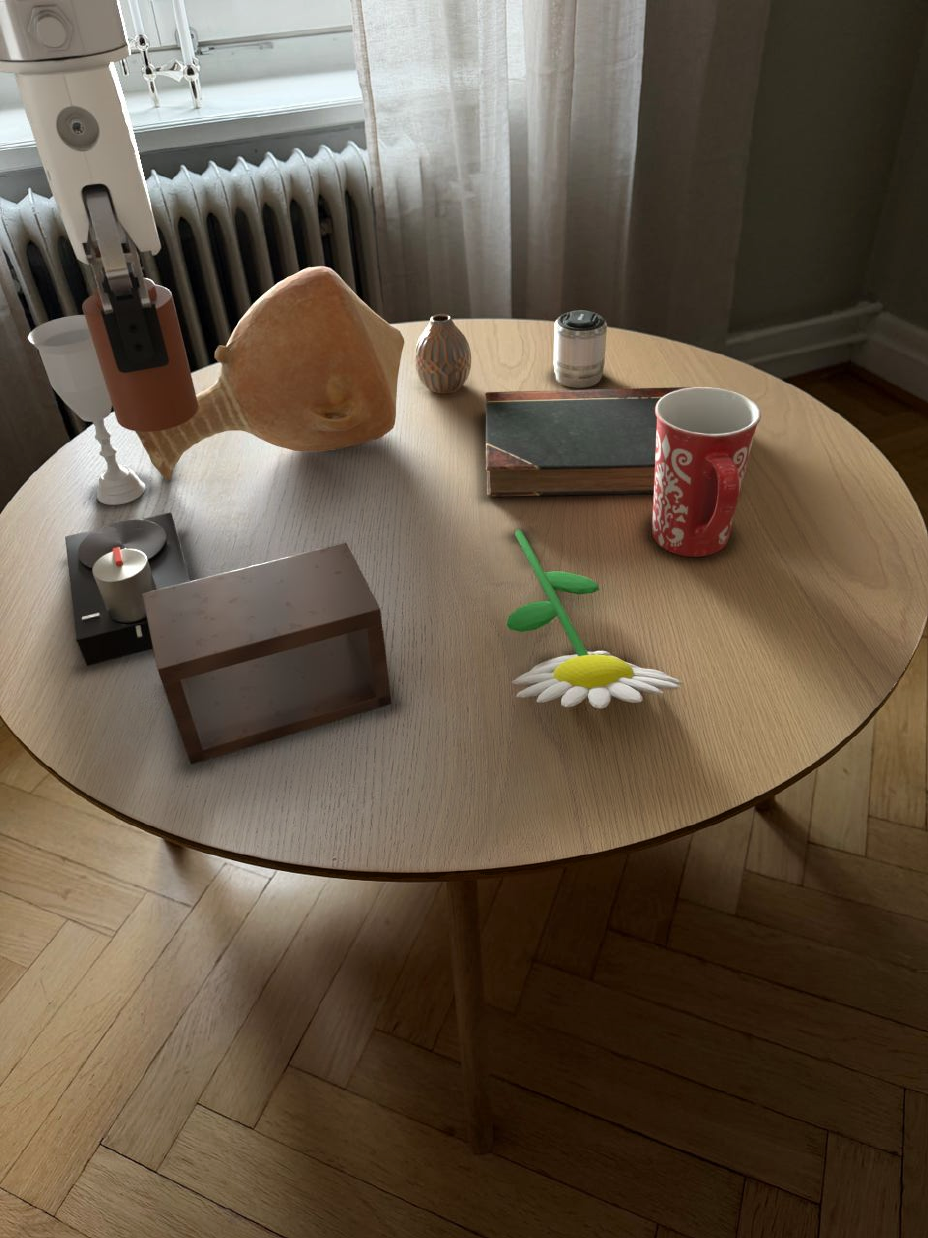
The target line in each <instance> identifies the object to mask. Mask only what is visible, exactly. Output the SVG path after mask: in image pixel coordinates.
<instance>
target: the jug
mask: <svg viewBox="0 0 928 1238" xmlns="http://www.w3.org/2000/svg"><path fill="white" fill-rule="evenodd" d="M405 343H406V342H405V338H404V336H403V334H402V332H401V330H399V329H398V328H396V326H395V327H394V325H391V324H390V323H389V322H388V321H386V320H385V319H384V318H383V317H381V316H380V315H379V314H377V313H376V312H375V311H374V310H373V309H372V308H371V307H370V306H369V305H368V304H367V303H365V301H363V300H362V299H361V298H360V297H359V296H358V295H357V294H356V292H355V291H353V289H352V288H351V287H350V286H349V285H348V284H347V283H346V282H345V281H344V280H343V279H342V277H341V276H340V275H339V274H338V273H337V272H336V271H335V270H333V268H331V267H328V266H324V265H319V266H312V267H311V266H308V267H306V268H304V269H302V270H300V271H298V272H296V273H294V274H292V275H290V276H287V277H286V278H284V279H282V280H280V281H279V282H277V283H276V284H274V286H272V287H271V288H270V289H268V290H267V291H266V292H264V293H263V294H262V295H261V296H260V297H259V298H258V299H257V300H255V302H253V304H252V305H251V306H250V307H249V308H248V310H247V311H246V312H245V313H244V315H243V316H242V317H241V318H240V319H239V321H238V323H237V325H236V326H235V327H234V329H233V331H232V333H231V334H230V337H229V339H228V342H227V343H226V345H218V346H217V348H216V350H215V351H214V359H215V360H216V361H217V362H218V363H220V364H221V365H220V370H219V371H220V373H219V375H218V377H217V380H216V381H215V382H214V383H213V384H212V385H211V386H210V387H208V388H207V389H205V390H203V391H201V392H200V393H198V394H196V397H197V401H198V406H199V407H198V411H197V413H196V414H195V415H194V416H193V417H192V418H191V419H190V420H188V421H187V422H185V423H183V424H181V425H178V426H176V427H173V428H170V429H166V430H161V431H153V432H138V431H134V432H135V433H136V435H137V436H138V438H139V440H140V442H141V444H142V446H143V448H144V450H145V452H146V453H147V455H148V457H149V460H150V463H151V464H152V465H153V467H155V469H156V470H157V471H158V472H159V473H160V475H161V476H162V477H163V479H164V480H165V481H171V479H172V478H173V473H174V470H175V469H176V465H177V463H178V462H179V460H180V459H181V457H182V456H183V454H184V453H185V452H187V451H188V450H190V449H191V448H192V447H193V446H194V445H196V444H199V443H200V442H202V441H203V440H205V439H207V438H208V439H209V438H211V437H213V436H214V435H218V434H221V433H225V432H233V431H237V432H238V431H240V432H241V431H242V432H244V433H245V432H246V433H248V434H251V435H253V436H255V437H256V438H258V439H260V440H262V441H264V442H266V443H268V444H270V445H273V446H276V447H279V448H283V449H287V450H290V451H294V452H309V453H321V452H329V451H335V450H342V449H346V448H349V447H355V446H359V445H361V444H365V443H368V442H372V441H375V440H377V439H380V438H382V437H383V436H385V435H387V434H389V432H391V431H392V430H393V429H394V428H395V425H396V418H397V397H398V380H399V372H400V366H401V360H402V356H403V355H402V354H403V351H404V346H405Z"/></svg>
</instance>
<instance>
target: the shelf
mask: <svg viewBox="0 0 928 1238" xmlns="http://www.w3.org/2000/svg"><path fill="white" fill-rule="evenodd" d="M142 596H143V601H144V606H145V611H146V616H147V621H148V626H149V631H150V636H151V641H152V646H153V648H152V650H153V655H154V660H155V665H156V671H157V673H158V676H159V679H160V681H161V684H162V687H163V691H164V693H165V695H166V699H167V701H168V703H169V704H168V706H169V708H170V710H171V713H172V716H173V719H174V723H175V725H176V728H177V730H178V733H179V736H180V739H181V742H182V745H183V747H184V751H185V753H186V756H187V759H188V761H189V764H190V765H194V764H197V763H201V762H204V761H208V760H210V759H214V758H217V757H221V756H224V755H228V754H230V753H234V752H237V751H241V750H243V749H247V748H251V747H254V746H257V745H260V744H264V743H268V742H271V741H273V740H277V739H280V738H284V737H287V736H290V735H293V734H297V733H300V732H304V731H307V730H310V729H314V728H317V727H320V726H323V725H327V724H331V723H333V722H336V721H340V720H343V719H347V718H350V717H353V716H357V715H361V714H364V713H367V712H370V711H373V710H377V709H380V708H384V707H388V706H390V705H392V704H393V700H392V691H391V682H390V676H389V667H388V659H387V651H386V642H385V634H384V625H383V618H382V617H383V616H382V611H381V607H380V605H379V603H378V601H377V599H376V597H375V595H374V593H373V591H372V589H371V587H370V586H369V584H368V582H367V579H366V578H365V575H364V574H363V572H362V570H361V567H360V566H359V564H358V562H357V560H356V558H355V556H354V554H353V552H352V550H351V547H350V546H349V544H348V542H343V543H338V544H334V545H331V546H326V547H322V548H319V549H314V550H310V551H305V552H302V553H299V554H298V553H297V554H294V555H291V556H287V557H283V558H278V559H274V560H270V561H267V562H262V563H259V564H253V565H250V566H246V567H241V568H238V569H235V570H231V571H226V572H222V573H218V574H215V575H211V576H207V577H203V578H198V579H195V580H190V582H186V583H182V584H178V585H174V586H170V587H166V588H162V589H158V590H154V591H150V592H146V593H143V594H142Z"/></svg>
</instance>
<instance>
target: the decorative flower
mask: <svg viewBox="0 0 928 1238" xmlns="http://www.w3.org/2000/svg"><path fill="white" fill-rule="evenodd" d="M514 535H515V537H516V539H517V542H518V543H519V545H520V547H521V549H522V551H523V553H524V555H525V557H526V558H527V561H528V563H529V564H530V566H531V568H532V570H533V572H534V575H535V576H536V578H537V580H538V582H539V584H540V586H541V587H542V590H543V592H544V593H545V595H546V598H547V600H548V601H547V600H537V601H534V602H529V603H526V604H524V605H522V606H520V607H518V608H516V609H515V610H514V611H513V612H512V613H510V615H508V617H507V620H506V623H505V626H506V627H508V629H509V630H510V631H514V632H518V633H519V632H520V633H525V632H529V631H530V632H531V631H535V630H538V629H541V628H543V627H545V626H547V625H548V624H550V623H551V622H552V621H553V620H554V619H555V618H556V617H557V619H558V620H559V623H560V625H561V626H562V628H563V630H564V632H565V634H566V636H567V638H568V640H569V642H570V644H571V646H572V648H573V649H574V651H575V654H571V655H561V656H557V657H553V658H552V659H551V658H550V659H548V660H545V661H543V662H540V663H539V664H537V665H535V666H534V667H532V668H531V669H530V671H527V672H525V673H524V674H521V675H520V676H518V677H517V678H516V679H514V680H513V681H511V683H512V684H514V685H525V686H527V685H528V687H526V688H524V689H522V690H520V691H519V692H517V694H516V695H515V698H530V697H535V696H538V697H537V699H535V700H536V702H537V703H540V704H542V703H547V702H551V701H555V700H556V699H558V698H560V697H561V699H560V700H561V701H560V703H561V706H563V707H565V708H571V707H574V706H577V705H579V704H580V703H582V702H583V701H584V700H585V699H588V703H589V704H590V705H591V706H592V707H593V708H596V709H599V710H601V709H604V708H607V707H608V706H609V704H610V703H611V699H612V697H613V698H616V699H617V700H620V701H622V702H626V703H627V702H628V703H631V704H632V703H633V704H635V703H641V702H643V700H644V698H643V696H642V694H641V693H640V692H642V693H646V694H652V695H663V694H664V691H663V690H679V689H682V686H680V684H683V683H684V682H683V681H681V680H680V679H679V678H676V677H672V676H670V675H669V674H668V673H666V672H663V671H660V670H656V669H651V668H644V667H640V666H638V665H635V664H633V663H631V662H630V663H629V662H627V661H624V660H623V659H621V658H619V657H616V656H614V655H612V654H611V653H610V652H608V651H605V650H596V651H595V650H594V651H588V650H587V649H586V647H585V645H584V643H583V641H582V639H581V638H580V636H579V634H578V632H577V630H576V629H575V626H574V624H573V623H572V621H571V618H570V617H569V616H568V614H567V612H566V609H565V608H564V606H563V604H562V602H561V600H560V599H559V597H558V595H557V593H556V591H555V590H557V591H560V592H564V593H570V594H574V595H587V594H594V593H596V592H598V591H600V587H599V583H597V582H596V581H595V580H593V579H591V578H590V577H587V576H584V575H580V574H578V573H573V572H567V571H561V570H554V571H545V570H544V569H543V567H542V565H541V563H540V562H539V560H538V557H537V556H536V554H535V552H534V550H533V548H532V546H531V544H530V542H529V541H528V539H527V537H526V535H525V533H524V531H523V530H522V529H517V530H516V531H515V532H514ZM529 685H530V686H529Z"/></svg>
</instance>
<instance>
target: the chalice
mask: <svg viewBox="0 0 928 1238" xmlns="http://www.w3.org/2000/svg"><path fill="white" fill-rule="evenodd" d="M27 339H28V341H29V342H30V343H31V344H32V345H33V346H34V348H35V349H36V350H38V352H39V356H40V358H41V361H42V364H43V367H44V370H45V372H46V375H47V378H48V381H49V383H50V386H51V387H52V389H53V390H54V391H55V393H56V394H57V395H58V396H59V398H60V399H61V400H62V401H63V403H64V404H65V405H66V406H67V407H68V408H69V409H70V410H71V411H72V412H74V414H76V415H77V416H78V418H80V419H81V420H82V421H84V422H91V423H92V424H93V426H94V429H95V435H94V439H95V440H96V441H98V442H99V444H100V451H99V453H98V454H99V456H100V457H103V458H104V460H105V462H106V466H107V467H106V469H105V470H104V471H102V472H101V474H100V476H99V478H98V485H97V492H96V499H97V500H98V501H99V502H100V503H102V504H105V505H109V506H110V505H112V506H114V505H116V506H118V505H124V504H127V503H131V502H133V501H135V500H136V499H138V498H140V497H141V496H143V494H144V493H145V491H146V485H145V483H144V482H143V481H142V479H140V477H139V476H138V475H137V474H135V472H134V470H132V469H130V468H128V467H127V466H124V465H120V464H119V463H118V461H117V459H116V457H117V456H116V455H117V452H118V448H116V447H114V446H113V445H112V443H111V437H112V433H111V432H110V431H109V430H108V429H107V426H106V425H105V419H106V418H107V417H109V416H110V415H111V412H112V409H113V406H112V403H111V399H110V396H109V393H108V390H107V386H106V383H105V380H104V377H103V373H102V370H101V367H100V364H99V360H98V357H97V354H96V351H95V347H94V344H93V341H92V338H91V335H90V331H89V328H88V325H87V322H86V318H85V315H84V314H76V315H69V316H64V317H60V318H56V319H52V320H50V321H47V322H44V323H42V324H40V325H38V326H36V327H34V329H32V331H30V332H29V334H28V336H27Z"/></svg>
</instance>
